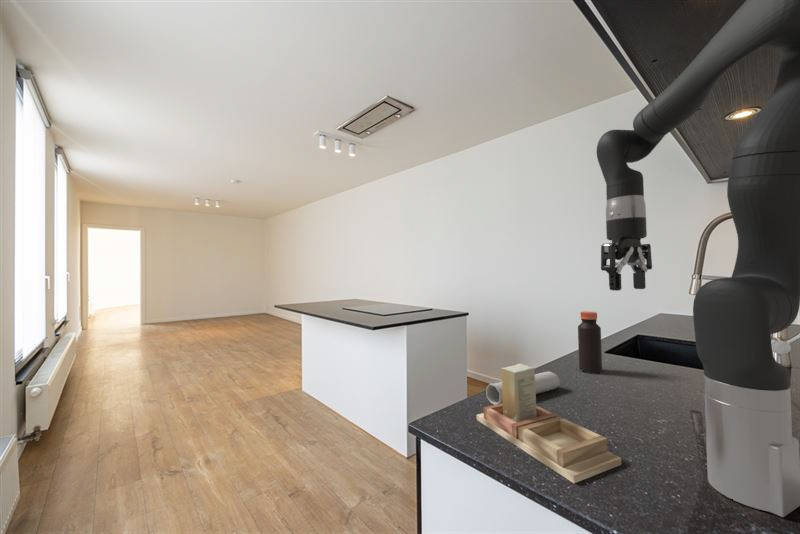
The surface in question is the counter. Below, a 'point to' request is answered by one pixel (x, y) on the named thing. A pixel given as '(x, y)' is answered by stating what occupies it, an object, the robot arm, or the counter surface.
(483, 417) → the two-compartment wooden tray
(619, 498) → the counter surface
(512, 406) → the skincare box
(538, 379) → the tube
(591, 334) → the vinegar
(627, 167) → the robot arm
